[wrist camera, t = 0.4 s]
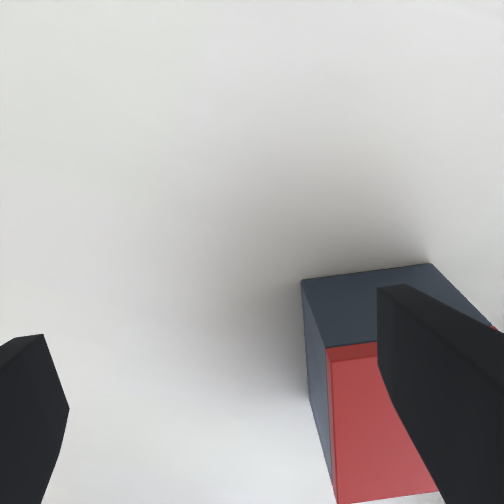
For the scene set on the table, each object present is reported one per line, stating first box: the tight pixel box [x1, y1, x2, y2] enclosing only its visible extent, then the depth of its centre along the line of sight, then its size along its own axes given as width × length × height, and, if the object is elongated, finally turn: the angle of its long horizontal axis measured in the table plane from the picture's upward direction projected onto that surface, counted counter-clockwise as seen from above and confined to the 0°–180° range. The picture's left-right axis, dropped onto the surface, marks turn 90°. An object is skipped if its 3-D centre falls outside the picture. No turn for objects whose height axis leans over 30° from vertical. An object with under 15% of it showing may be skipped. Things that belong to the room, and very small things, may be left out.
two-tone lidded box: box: [301, 263, 497, 504], centre depth 20 cm, size 7×6×6 cm
